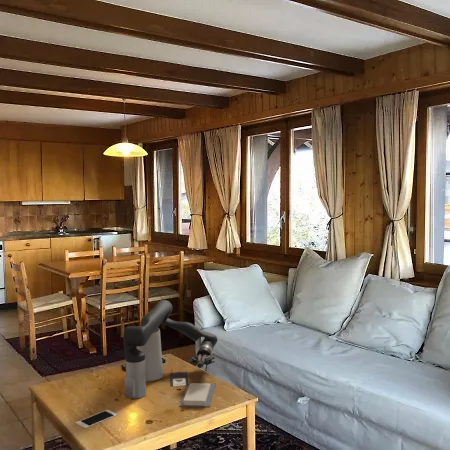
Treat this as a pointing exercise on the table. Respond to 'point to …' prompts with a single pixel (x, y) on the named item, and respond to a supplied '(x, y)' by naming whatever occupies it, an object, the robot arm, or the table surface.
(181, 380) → the chocolate bar
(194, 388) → the tile
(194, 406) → the felt mat
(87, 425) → the cell phone
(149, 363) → the cylinder vase
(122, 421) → the table surface
